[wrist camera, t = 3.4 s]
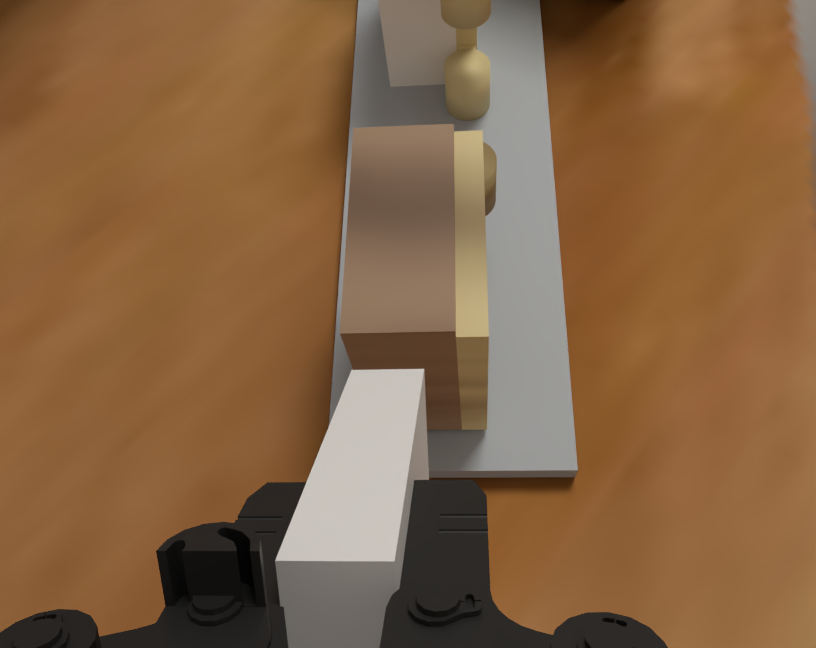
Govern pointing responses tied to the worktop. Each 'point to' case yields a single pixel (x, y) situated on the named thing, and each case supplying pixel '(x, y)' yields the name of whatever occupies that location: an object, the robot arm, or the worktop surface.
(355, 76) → the hinge jig
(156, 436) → the worktop surface
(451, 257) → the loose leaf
